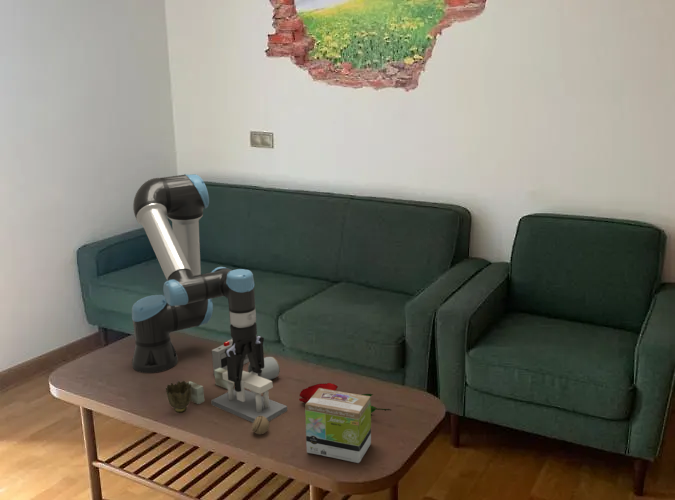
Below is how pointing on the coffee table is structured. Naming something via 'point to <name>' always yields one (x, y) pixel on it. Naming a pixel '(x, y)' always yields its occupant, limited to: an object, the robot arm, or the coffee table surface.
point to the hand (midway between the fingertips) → (248, 396)
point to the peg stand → (249, 405)
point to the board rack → (197, 389)
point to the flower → (311, 390)
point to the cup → (179, 396)
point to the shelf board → (253, 382)
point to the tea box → (338, 424)
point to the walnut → (260, 425)
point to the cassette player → (222, 356)
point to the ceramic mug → (268, 368)
